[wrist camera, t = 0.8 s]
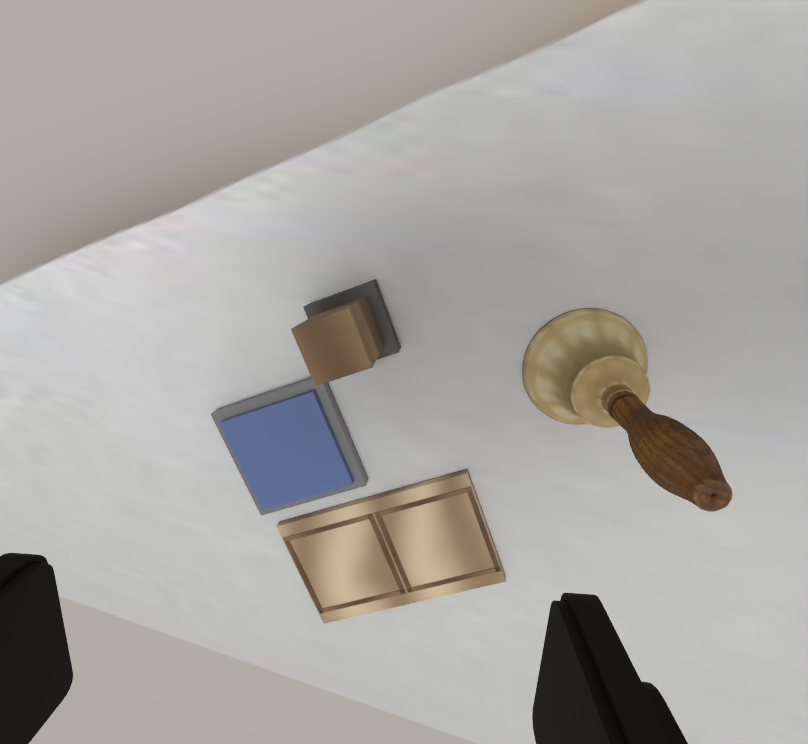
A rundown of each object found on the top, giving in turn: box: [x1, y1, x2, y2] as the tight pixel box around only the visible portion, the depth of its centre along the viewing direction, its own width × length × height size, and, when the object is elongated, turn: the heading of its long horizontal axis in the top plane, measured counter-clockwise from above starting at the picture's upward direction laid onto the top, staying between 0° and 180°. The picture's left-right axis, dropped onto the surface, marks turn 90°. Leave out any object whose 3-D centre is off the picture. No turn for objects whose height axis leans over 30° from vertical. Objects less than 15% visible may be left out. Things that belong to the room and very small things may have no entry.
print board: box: [276, 470, 506, 623], centre depth 36 cm, size 16×10×1 cm, turn 110°
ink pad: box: [211, 377, 368, 515], centre depth 34 cm, size 9×9×2 cm
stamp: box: [291, 279, 401, 386], centre depth 29 cm, size 5×5×7 cm
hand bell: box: [523, 309, 732, 511], centre depth 24 cm, size 8×8×16 cm
